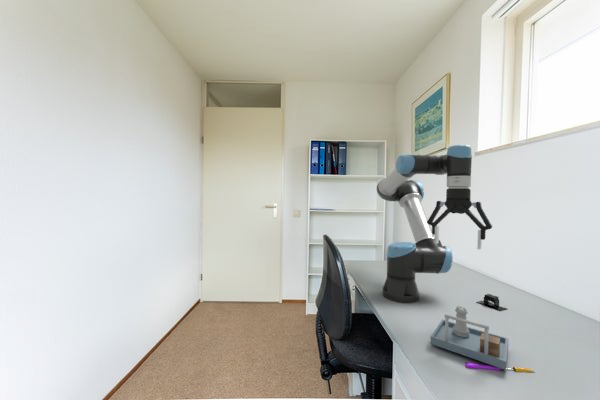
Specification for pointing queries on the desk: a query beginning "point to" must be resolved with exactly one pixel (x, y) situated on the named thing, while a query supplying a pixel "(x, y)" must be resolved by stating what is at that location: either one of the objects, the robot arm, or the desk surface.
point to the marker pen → (494, 367)
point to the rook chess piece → (461, 324)
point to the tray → (469, 342)
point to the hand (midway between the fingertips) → (456, 245)
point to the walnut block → (491, 345)
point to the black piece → (494, 306)
